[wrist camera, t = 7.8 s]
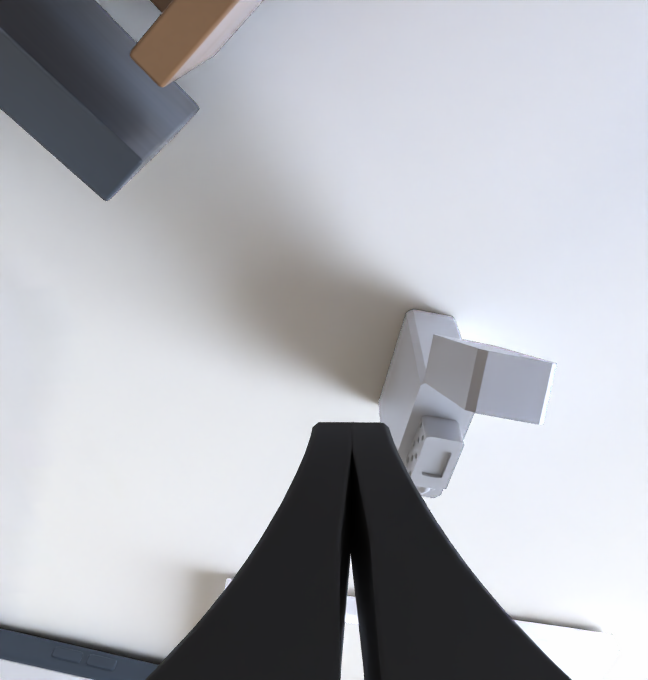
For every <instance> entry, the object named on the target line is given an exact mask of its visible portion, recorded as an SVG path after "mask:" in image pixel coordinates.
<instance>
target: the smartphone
mask: <svg viewBox="0 0 648 680" xmlns="http://www.w3.org/2000/svg"><path fill="white" fill-rule="evenodd" d="M158 666H159V665H157V664H153V663H149V662H144V661H140V660H136V659H131V658H127V657H123V656H118V655H114V654H110V653H105V652H101V651H97V650H92V649H88V648H84V647H79V646H75V645H71V644H66V643H62V642H58V641H53V640H49V639H45V638H40V637H36V636H32V635H27V634H23V633H19V632H14V631H10V630H6V629H1V628H0V680H145V679H146V678H147V677H148V676H149V675H150V674H151V673H152V672H153V671H154V670H155V669H156V668H157V667H158Z"/></svg>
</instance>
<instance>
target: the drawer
mask: <svg viewBox="0 0 648 680" xmlns="http://www.w3.org/2000/svg"><path fill="white" fill-rule="evenodd" d="M150 1H151V2H152V3H153V4H154V5H155V6H156V7H157V8H158V9H159V10H160V11H161V12H162V14H161V15H160V16H159V17H158V18H157V20H156V21H155V22H154V23H153V25H152V26H151V27H150V28H149V29H148V31H147V32H146V33H145V34H144V35H143V37H142V38H141V39H140V40H139V41H138V43H136V42H135V41H134V40H133V39H132V38H131V37H130V36H129V35H128V34H127V33H126V32H125V30H124V29H123V28H122V27H121V26H120V25H119V24H118V23H117V22H116V21H115V20H114V19H113V18H112V17H111V16H110V15H109V14H108V13H107V12H106V11H105V10H104V9H103V8H102V7H101V6H100V5H99V4H98V3H97V2H96V1H95V0H0V109H1V110H3V111H4V112H5V113H6V114H7V115H8V116H9V117H10V118H12V119H13V120H14V121H15V122H16V123H17V124H18V125H19V126H21V127H22V128H23V129H24V130H25V131H26V132H27V133H29V134H30V135H31V136H32V137H33V138H34V139H35V140H36V141H38V142H39V143H40V144H41V145H42V146H43V147H44V148H45V149H47V150H48V151H49V152H50V153H51V154H52V155H53V156H54V157H56V158H57V159H58V160H59V161H60V162H61V163H62V164H64V165H65V166H66V167H67V168H68V169H69V170H70V171H71V172H73V173H74V174H75V175H76V176H77V177H78V178H79V179H80V180H82V181H83V182H84V183H85V184H86V185H87V186H88V187H90V188H91V189H92V190H93V191H94V192H95V193H96V194H97V195H99V196H100V197H101V198H102V199H103V200H105V201H108V200H110V199H111V198H112V197H113V196H114V195H115V194H116V193H117V192H118V191H119V190H120V189H121V188H122V187H123V186H124V185H125V184H126V183H127V182H128V181H129V180H131V179H132V178H133V177H134V176H135V175H136V174H137V173H138V172H139V171H140V170H141V169H142V168H143V167H144V166H145V165H146V164H147V163H148V162H149V161H150V160H151V159H152V158H153V157H154V156H155V155H156V154H157V153H158V152H159V151H160V150H161V149H162V148H163V147H164V146H165V145H166V144H167V143H169V142H170V141H171V140H172V139H173V138H174V137H175V136H176V134H177V133H178V132H179V131H180V130H181V129H182V128H183V127H184V126H185V125H186V124H187V122H188V121H189V120H190V119H191V118H192V117H193V116H194V115H195V114H196V113H197V112H198V110H199V106H198V105H197V104H196V103H195V102H194V101H193V100H192V99H191V98H190V97H189V96H188V95H187V94H186V93H185V92H184V91H183V90H182V89H181V88H180V87H179V86H178V85H177V84H176V83H175V82H174V81H175V80H176V79H178V78H179V77H181V76H183V75H184V74H186V73H187V72H189V71H191V70H192V69H194V68H195V67H197V66H198V65H200V64H202V63H203V62H205V61H206V60H208V59H210V58H212V57H213V56H214V55H215V54H216V53H217V52H218V51H219V50H220V49H221V47H222V46H223V45H224V44H225V43H226V42H227V41H228V40H229V38H230V37H231V36H232V35H233V34H234V33H235V32H236V31H237V29H238V28H239V27H240V26H241V25H242V24H243V23H244V22H245V20H246V19H247V18H248V17H249V16H250V15H251V14H252V13H253V12H254V10H255V9H256V8H257V7H258V6H259V5H260V4H261V3H262V1H263V0H150Z"/></svg>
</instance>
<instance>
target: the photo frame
mask: <svg viewBox="0 0 648 680" xmlns="http://www.w3.org/2000/svg"><path fill="white" fill-rule="evenodd" d="M232 580H233V579H229V578H227V580H226V585H225V589H226V587H227V586H228V585H229V584H230V582H231V581H232ZM514 621H515V622H516V623H517V625H518V626H519V627H520V628H521V629H522V630H523V631H524V632H525V633H526V634H527V635H528V636H529V637H530V638H531V639H532V640H533V641H534V642H535V643H536V644H537V645H538V647H539V648H540V649H541V650H542V651H543V652H544V653H545V654H546V655H547V656H548V657H549V658H550V659H551V660H552V661H553V662H554V663H555V664H556V665H557V666H558V667H559V668H560V669H561V670H562V671H563V672H565V673H566V674H567V675H568V676H569V677H570V678H571V679H572V680H600V679H601V678H602V676H603V675H604V674H605V672H606V671H607V669H608V668H609V667H610V665H611V664H612V663H613V661H614V660H615V658H616V657H617V656H618V654H619V653H620V652H619V650H618V647H617V645H616V643H615V640H614V638H613V635H612V634H609V633H602V632H595V631H588V630H581V629H575V628H568V627H561V626H554V625H547V624H540V623H533V622H526V621H519V620H514ZM345 623H348V624H355V625H359V624H358V615H357V606H356V597H353V596H347V602H346V614H345Z"/></svg>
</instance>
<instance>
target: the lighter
mask: <svg viewBox="0 0 648 680" xmlns="http://www.w3.org/2000/svg"><path fill="white" fill-rule="evenodd" d="M556 366H557V363H554V362H550V361H547V360H543V359H540V358H536V357H532V356H529V355H525V354H522V353H518V352H515V351H511V350H508V349H504V348H501V347H497V346H493V345H488V344H483V343H478V342H473V341H468V340H463V339H462V338H461V335H460V332H459V329H458V326H457V323H456V321H455V320H454V318H453V317H452V316H446V315H441V314H436V313H431V312H426V311H421V310H415V309H412V310H410V311H408V312H406V315H405V318H404V321H403V324H402V328H401V331H400V334H399V337H398V341H397V344H396V347H395V350H394V354H393V357H392V360H391V363H390V367H389V370H388V373H387V376H386V380H385V383H384V386H383V389H382V393H381V396H380V399H379V402H378V403H379V414H380V423H385V424H386V425H387V426H388V427H389V429H390V432H391V435H392V438H393V441H394V443H395V446H396V448H397V450H398V453H399V455H400V457H401V459H402V461H403V463H404V465H405V467H406V469H407V471H408V473H409V475H410V477H411V479H412V481H413V483H414V484H415V486H416V488H417V490H418V491H419V493H420V495H421V496H425V497H430V498H435V497H437V496H440V495H441V493H442V491H443V489H446V488H447V486H448V483H449V481H450V479H451V476H452V474H453V471H454V469H455V466H456V464H457V462H458V459H459V457H460V454H461V452H462V449H463V447H464V442H463V440H464V437H465V435H466V432H467V430H468V428H469V425H470V423H471V420H472V418H473V415H474V413H477V414H483V415H489V416H494V417H500V418H505V419H511V420H516V421H522V422H527V423H533V424H538V425H541V424H544V419H545V415H546V410H547V406H548V401H549V397H550V392H551V388H552V383H553V379H554V374H555V370H556Z"/></svg>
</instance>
